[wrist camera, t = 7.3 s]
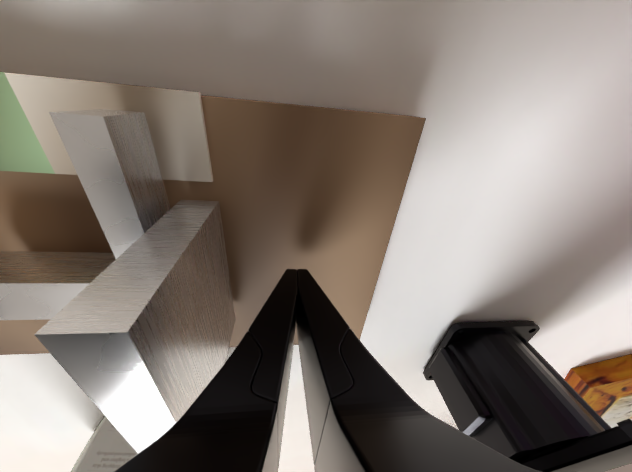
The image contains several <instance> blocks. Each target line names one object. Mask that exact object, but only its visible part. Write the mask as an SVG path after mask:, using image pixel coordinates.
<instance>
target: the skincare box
mask: <svg viewBox="0 0 632 472" xmlns="http://www.w3.org/2000/svg"><path fill="white" fill-rule="evenodd" d="M137 454H138V453H137V452H136V451H135V450H134V448H133V447H132V446H131V445H130V444H129V443H128V441H127V440H126V439H125V438H124V437H123V436H122V435H121V433H120V432H119V431H118V430H117V429H116V428H115V427H114V425H113V424H112V423H111V422H110V421H109V420H108V419H107V417H106V416H105V417H104V418H103V420H102V421H101V423H100V424H99V426H98V427H97V429H96V430H95V432H94V433H93V435H92V436H91V438H90V439H89V441H88V442H87V444H86V446H85V448H84V449H83V451H82V453H81V455H80V456H79V458H78V460H77V462H76V463H75V465H74V467H73V469H72V471H71V472H114V471H115V470H117V469H118V468H119V467H121V466H122V465H124V464H125V463H126V462H128V461H129V460H130V459H132V458H133V457H134V456H136V455H137Z"/></svg>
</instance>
